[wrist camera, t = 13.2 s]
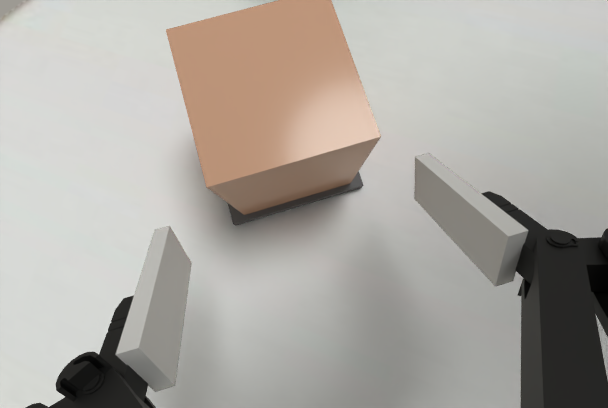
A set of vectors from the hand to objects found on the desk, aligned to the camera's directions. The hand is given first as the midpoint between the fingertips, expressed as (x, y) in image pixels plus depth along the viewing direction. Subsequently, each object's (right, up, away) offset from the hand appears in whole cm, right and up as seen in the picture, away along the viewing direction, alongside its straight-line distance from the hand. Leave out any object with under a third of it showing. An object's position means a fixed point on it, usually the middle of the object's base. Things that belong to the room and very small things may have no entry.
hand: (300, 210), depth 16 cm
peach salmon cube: (-2, +5, +9) cm, 11 cm away
